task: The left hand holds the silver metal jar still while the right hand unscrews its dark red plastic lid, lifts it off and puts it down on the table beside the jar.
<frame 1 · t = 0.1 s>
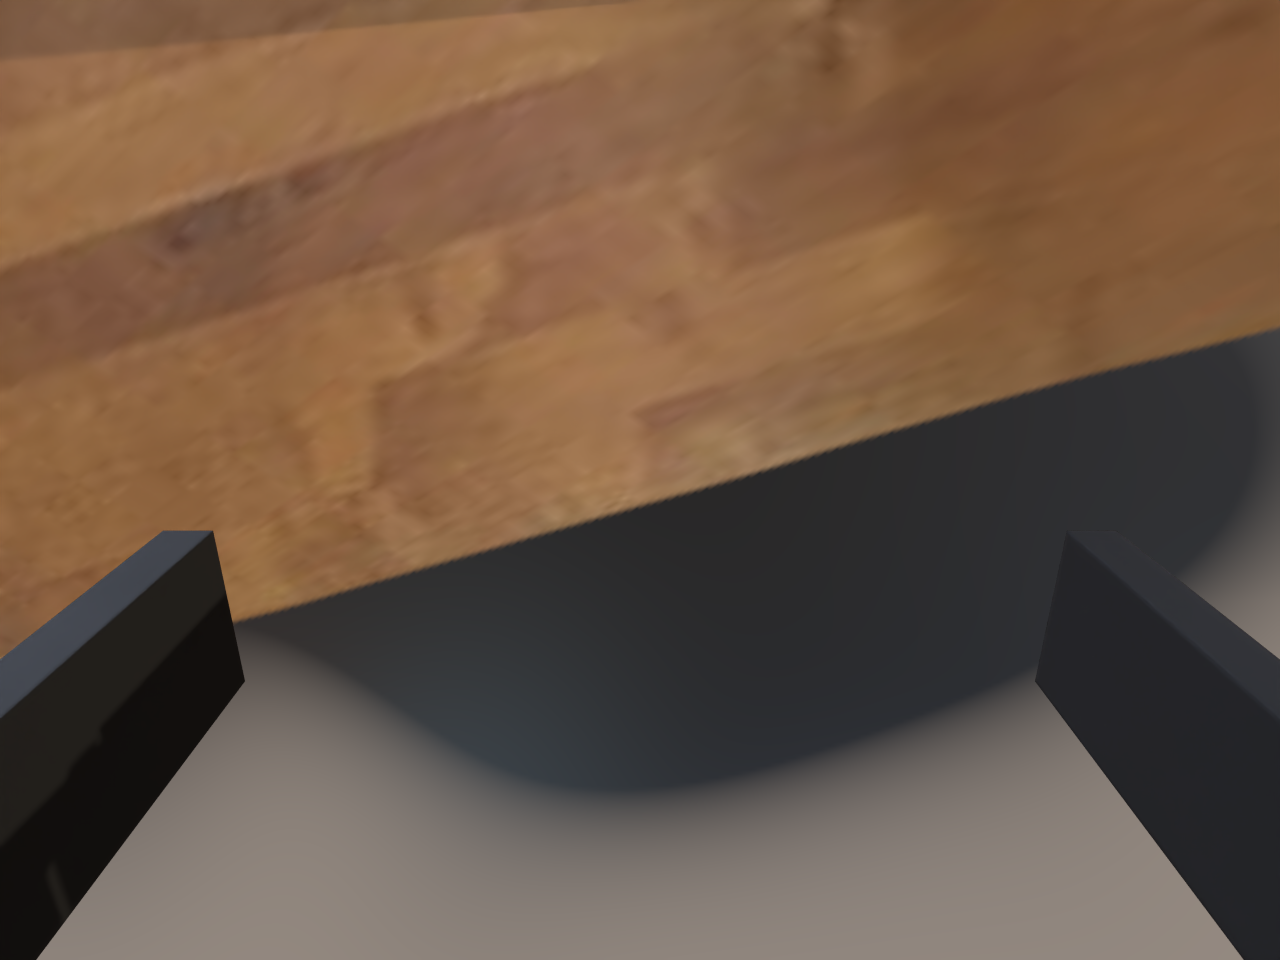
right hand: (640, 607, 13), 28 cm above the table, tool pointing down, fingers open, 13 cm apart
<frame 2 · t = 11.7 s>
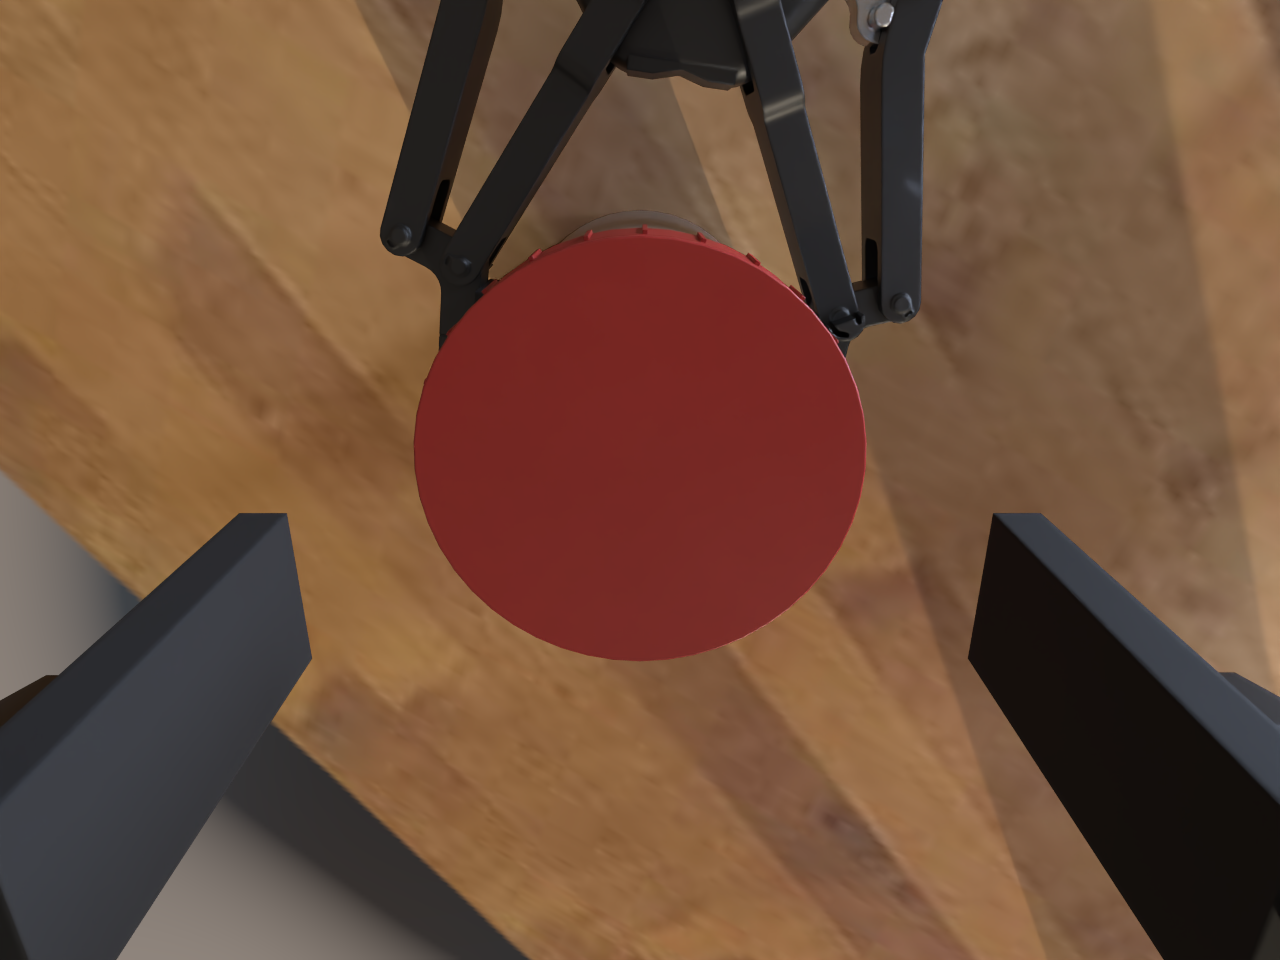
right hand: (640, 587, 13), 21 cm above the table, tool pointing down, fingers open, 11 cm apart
left hand: (623, 490, 29), fingers closed on jar, 9 cm apart
jar: (640, 329, 33), on the table, touching left hand
lid: (640, 465, 19), point 15 cm above the table, screwed on, not yet turned
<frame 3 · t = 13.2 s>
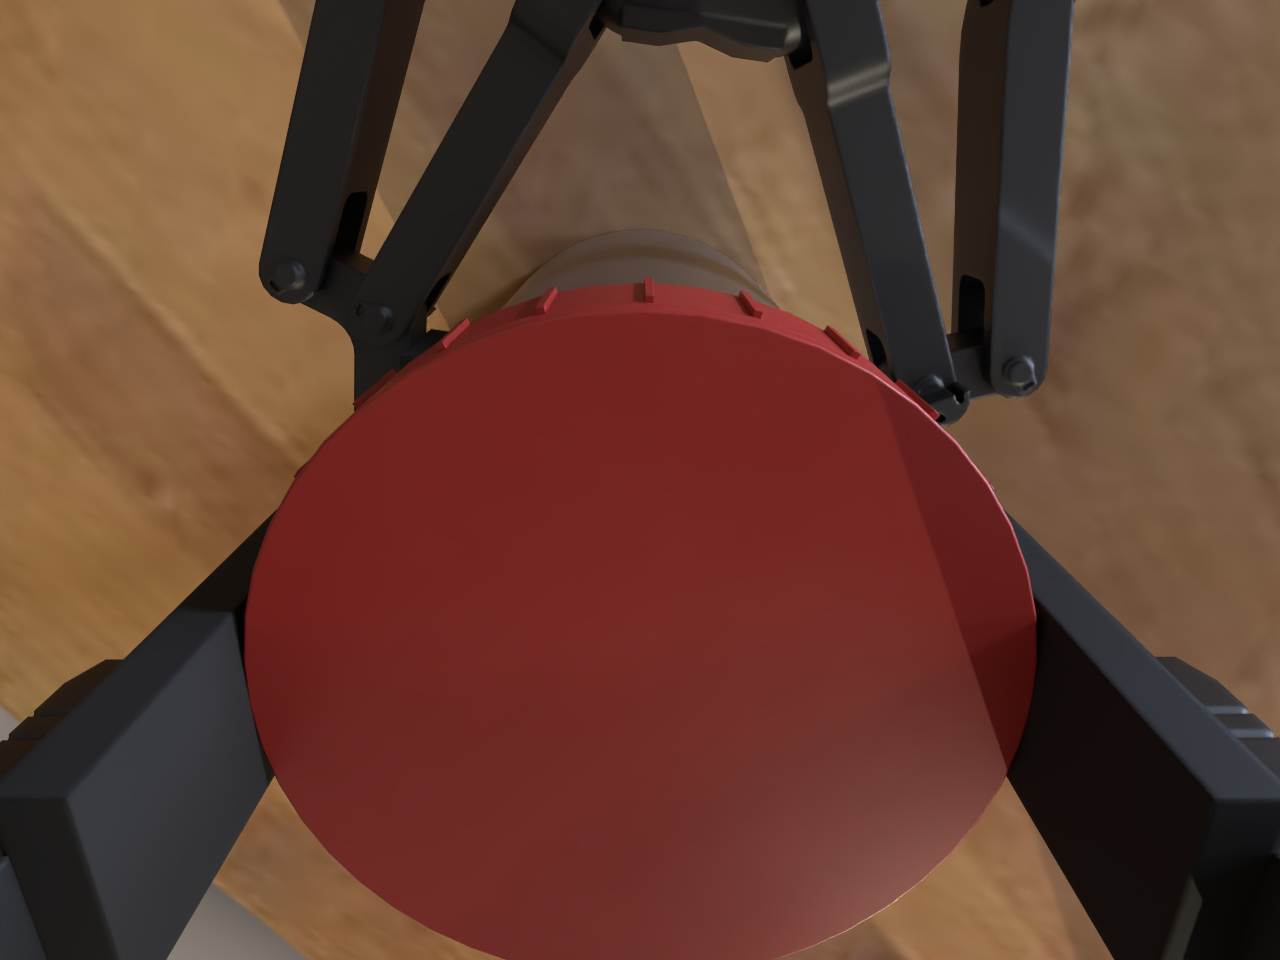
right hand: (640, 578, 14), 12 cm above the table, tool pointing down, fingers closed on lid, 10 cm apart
left hand: (617, 616, 21), fingers closed on jar, 9 cm apart
jar: (640, 384, 25), on the table, touching left hand
lid: (640, 688, 11), point 15 cm above the table, screwed on, not yet turned, touching right hand
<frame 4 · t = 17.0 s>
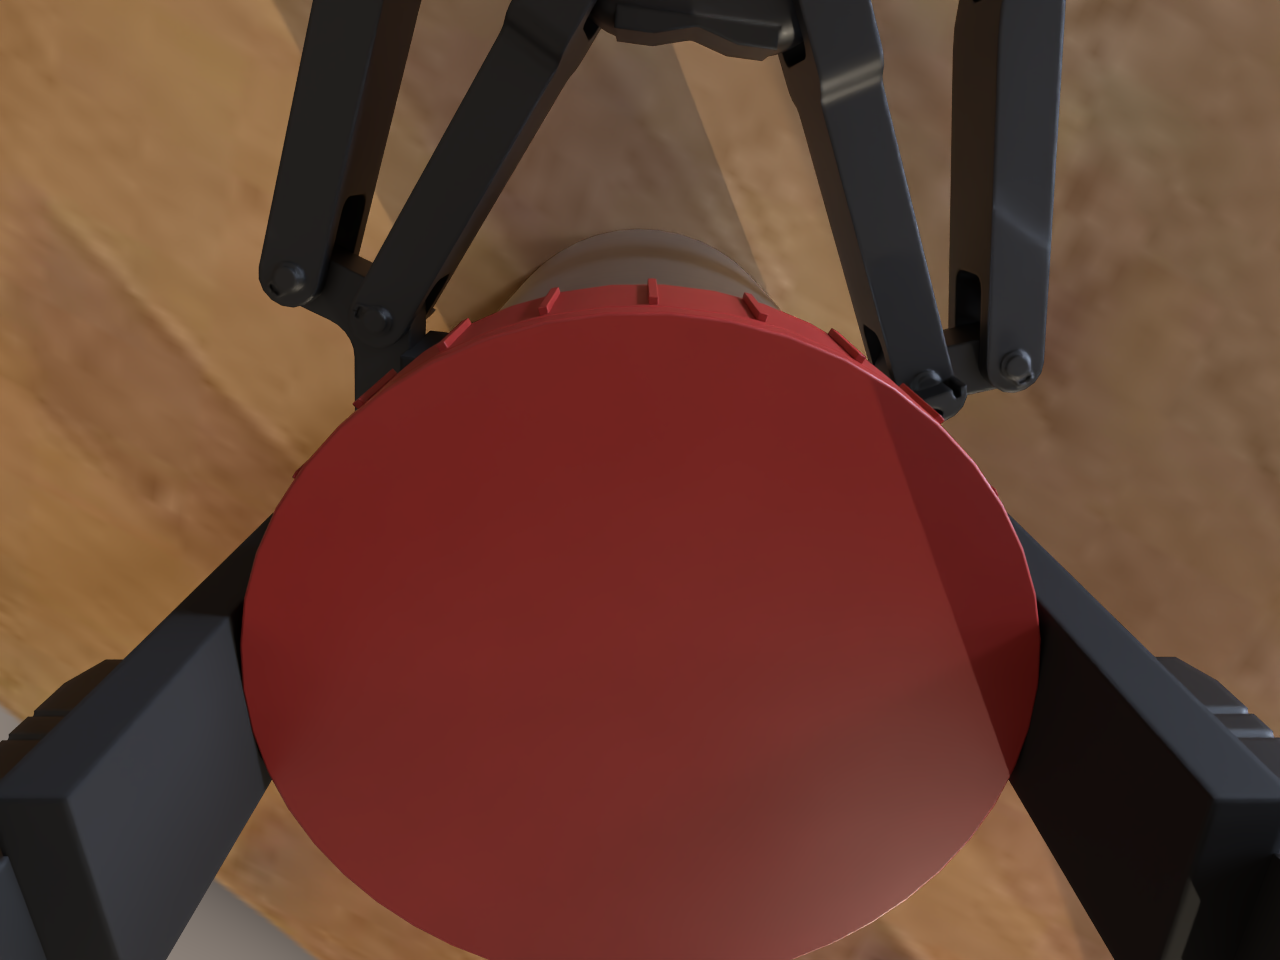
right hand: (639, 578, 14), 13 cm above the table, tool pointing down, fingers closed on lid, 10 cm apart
left hand: (619, 614, 21), fingers closed on jar, 9 cm apart
jar: (640, 383, 25), on the table, touching left hand
lid: (640, 692, 11), point 16 cm above the table, turned 123° so far, risen 0.2 cm, still on its thread, touching right hand
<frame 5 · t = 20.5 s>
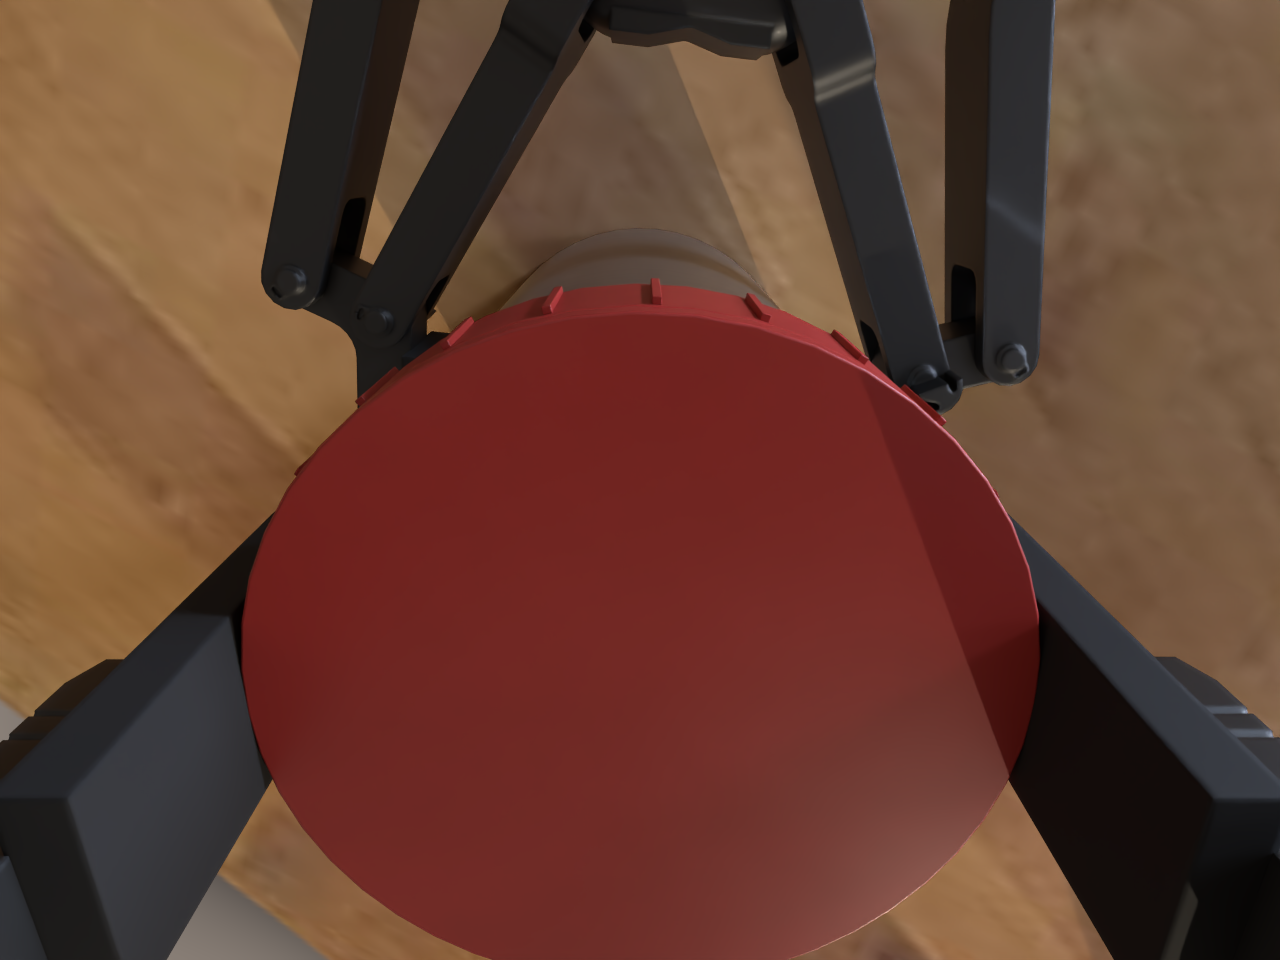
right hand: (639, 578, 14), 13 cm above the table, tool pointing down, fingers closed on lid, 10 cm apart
left hand: (621, 610, 21), fingers closed on jar, 9 cm apart
jar: (640, 381, 26), on the table, touching left hand
lid: (640, 691, 11), point 16 cm above the table, turned 247° so far, risen 0.4 cm, still on its thread, touching right hand
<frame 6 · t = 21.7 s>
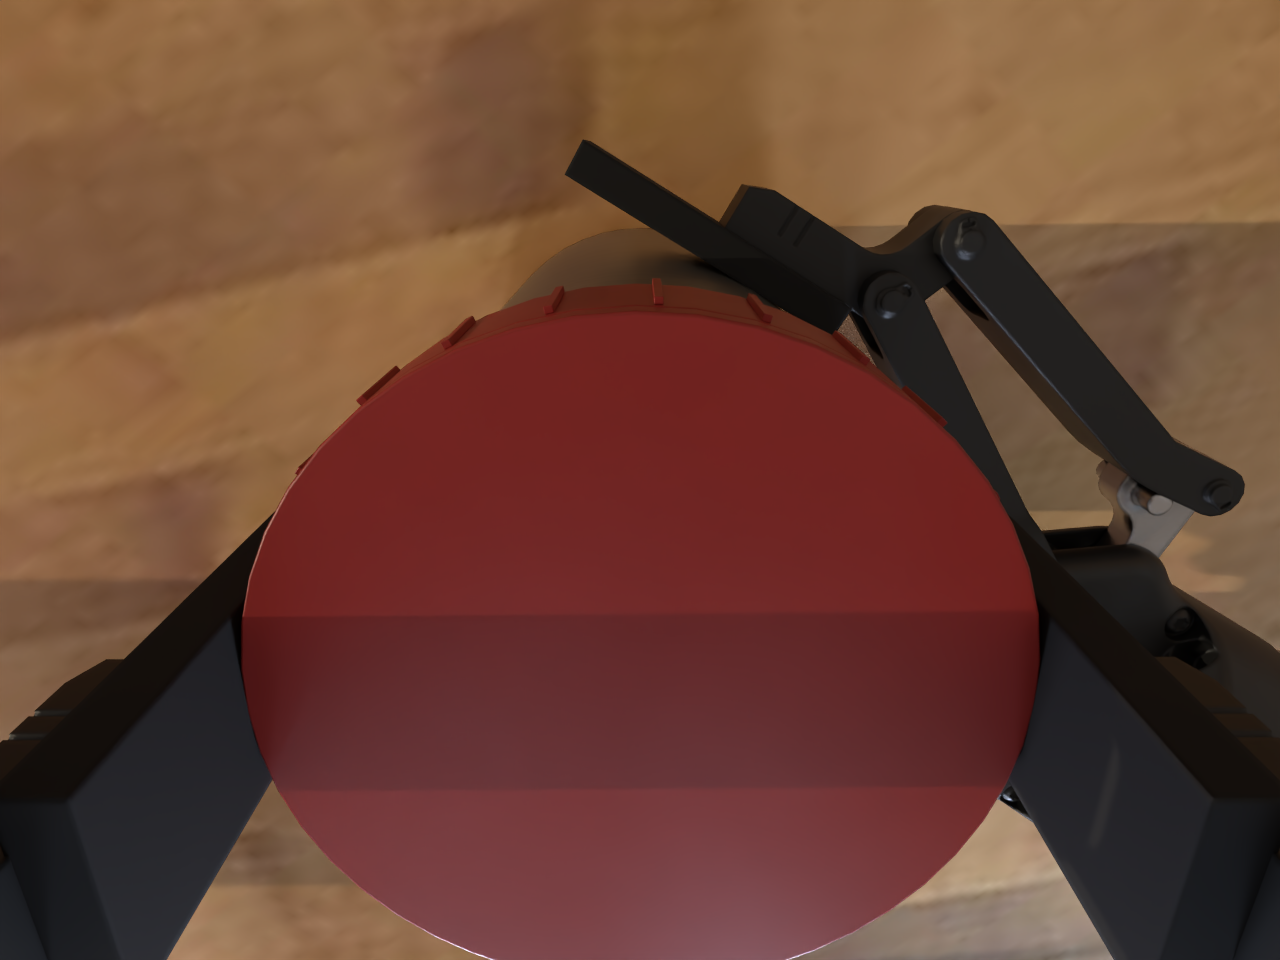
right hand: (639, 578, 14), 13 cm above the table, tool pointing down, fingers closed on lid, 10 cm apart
left hand: (474, 355, 19), fingers closed on jar, 9 cm apart
jar: (640, 380, 26), on the table, touching left hand
lid: (640, 691, 11), point 16 cm above the table, off its thread, touching right hand
when the right hand's fingers open (0 cm above the table, at t = 27.3 s): lid drops 2 cm, point 2 cm above the table.
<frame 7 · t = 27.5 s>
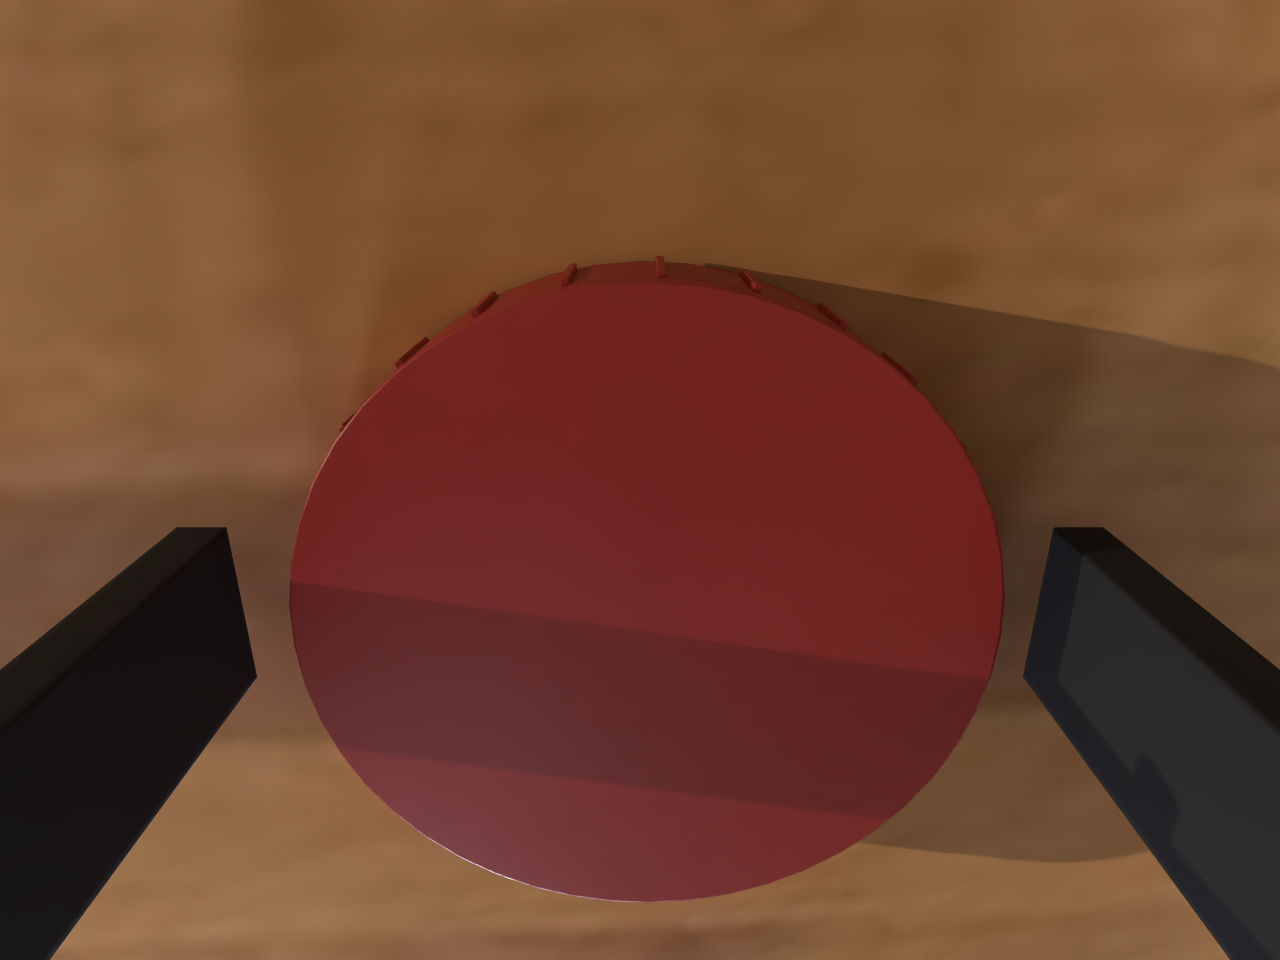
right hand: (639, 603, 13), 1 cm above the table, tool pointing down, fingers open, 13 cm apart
lid: (646, 628, 12), point 2 cm above the table, off its thread
when the left hand's fingers open (6 cm above the table, at t = 28.3 s): jar stays where it is, on the table.
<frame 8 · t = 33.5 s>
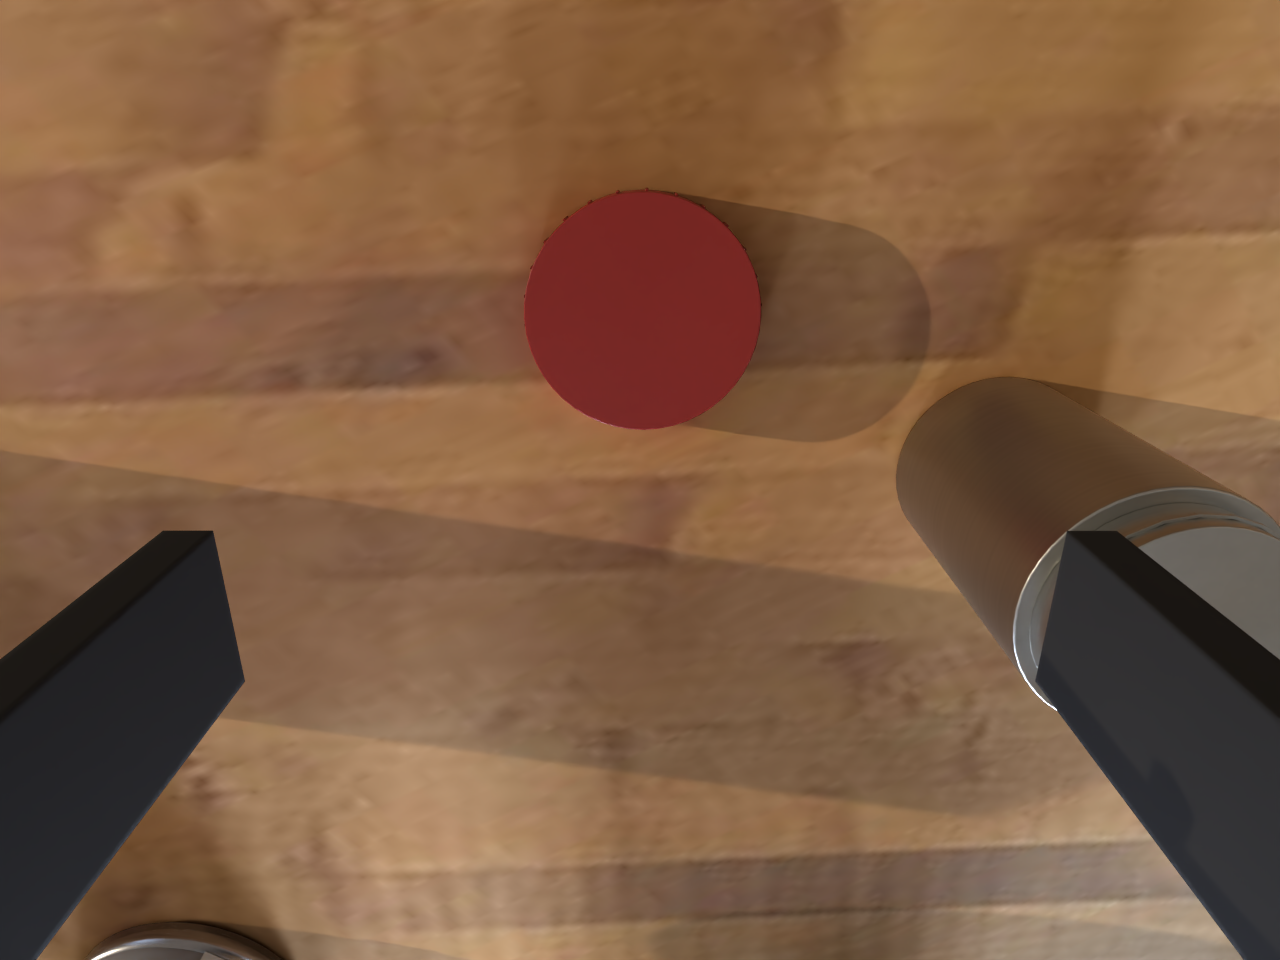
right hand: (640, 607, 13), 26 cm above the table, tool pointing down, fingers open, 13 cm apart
jar: (991, 469, 40), on the table
lid: (642, 315, 35), point 2 cm above the table, off its thread
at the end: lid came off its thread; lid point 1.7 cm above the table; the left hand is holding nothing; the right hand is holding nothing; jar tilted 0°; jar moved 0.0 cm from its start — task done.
